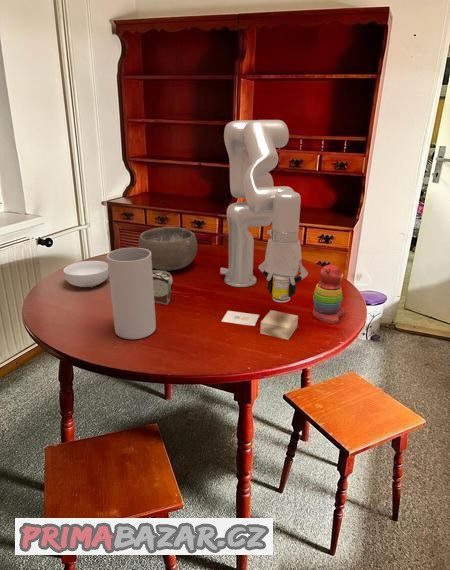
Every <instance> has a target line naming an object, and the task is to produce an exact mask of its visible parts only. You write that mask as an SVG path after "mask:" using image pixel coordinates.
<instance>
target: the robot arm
mask: <svg viewBox="0 0 450 570" xmlns="http://www.w3.org/2000/svg"><path fill="white" fill-rule="evenodd" d="M223 131H224V133H223V138H224V139H223V141H224V145H225V148H226V152H227V154H228V159H229V188H230V194H231V196H232V197H234V198H236V199H245V201H237V202H233V203H231V204H229V206H228V207H227V209H226V219H227V220H226V221H227V227H228V268H225V267H220V269H219V274H220V275H225V277H224V283H225V284H226V285H229V286H230V287H235V288H248V287H251V286H254V285H255V284H256V283H257V277H256V276H255V275H254V272H253V270H254V246H255V245H254V243H255V241H254V237H253V236H254V235H252V233H251V232H250V231H249V228H256V227H257V228H258V227H261V228H262V227H267V226H270V225H271V229H267V232H266V234H267V235H269V236H270V238H269V239H268V240H267V244H266V245H267V246H266V250H265V256H264V257H265V258H264V261H262V263H260V264H259V265H258V269H259V271H260V272H261V273H262V274H263V276H264V277H265V278H266V281H267V290H268V294H272V288H273V274H277V275H282V276H289V277H290V281H291V284H290V285H289V297H290V298H292V297H293V295H295V294H296V291H297V284H298V283H300V282H301V281H302V280H303V279H305V278H306V277H307V276H309V272H308V271H307V269H306V268H305V267H304V266H303V264H302V247H301V245H302V244H301V240H300V239H299V231H300V230H299V229H300V214H301V203H302V201H301V200H302V199H301V195H300V193H298V192H296V191H295V190H294V189H293V188H292V187H290V186H285V185H283V186H281V185H280V186H279V185H278V186H274V179H273V176H272V175H271V173H270V171H272V170H273V169H275V168H276V167H277V165H278V162H279V155H278V152H277V149H276V148H283V147H285V146H287V144H288V142H289V139H290V136H289V135H290V133H289V129H288V125H287V124H286V122H284V120H280V119H257V120H256V119H253V120H250V119H249V120H248V119H246V120H245V119H241V120H233V121H230V122H228V123H227V124H226V125H225V127H224V130H223ZM299 273H300V274H299ZM298 274H299V275H298ZM297 275H298V276H297Z"/></svg>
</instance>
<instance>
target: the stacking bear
mask: <svg viewBox="0 0 450 570" xmlns="http://www.w3.org/2000/svg"><path fill="white" fill-rule="evenodd" d="M319 274H320V275H319V277H320V280H319V281H318V283H317V284H316V286H315V288H314V291H313V297H312V298H313V299H312V301H313V310H312V314H311V315H313V316H314V318H316V319H318V320H319V321H320V322H323V323H327V324H332V325H335V324H338V323H339V322H340V319H339V318H340V317H343V316H345V315H346V310H345V309H344V308H342V307H341V306H342V303H343V297H344V296H343V290H342V289H343V288H342V284H341V283H340V282H342V281H343V279H344V278H345V277H344V273H343V272H342V270H341V269H340V268H339V267H338V266H337V265H335V264H334V263H333V262H332V263H330V264H327V265H324V266H322V268H321V269H320V273H319Z"/></svg>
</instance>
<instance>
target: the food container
mask: <svg viewBox="0 0 450 570" xmlns="http://www.w3.org/2000/svg"><path fill="white" fill-rule="evenodd" d="M152 273H153V289H154V303H157V304H162V305H169V304H170V303H171V286H172V283H173V277H172V275H171V273H170V272H169V271H164V270H158V269H155V270H154V269H153V270H152Z"/></svg>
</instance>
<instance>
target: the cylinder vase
mask: <svg viewBox="0 0 450 570" xmlns="http://www.w3.org/2000/svg"><path fill="white" fill-rule="evenodd" d="M106 259H107V260H106V261H107V264H108V270H109V275H108V278H109V287H110V288H109V289H110V296H111V306H112V315H113V316H112V317H113V325H114V332H115V334H116V336H118V337H119V338H122V339H126V340H139V339H145V338H146V337H149V336H150V335H152V334H153V333H154V332H155V331H156V329H157V328H156V327H157V325H156V324H157V322H156V308H155V307H156V306H155V302H154V289H153V273H152V271H153V268H152V258H151V252H150V251H149V250H147V249H143V248H139V247H125V248H124V247H122V248H118V249H115V250H112V251H110V252H108V253H107V255H106Z"/></svg>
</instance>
